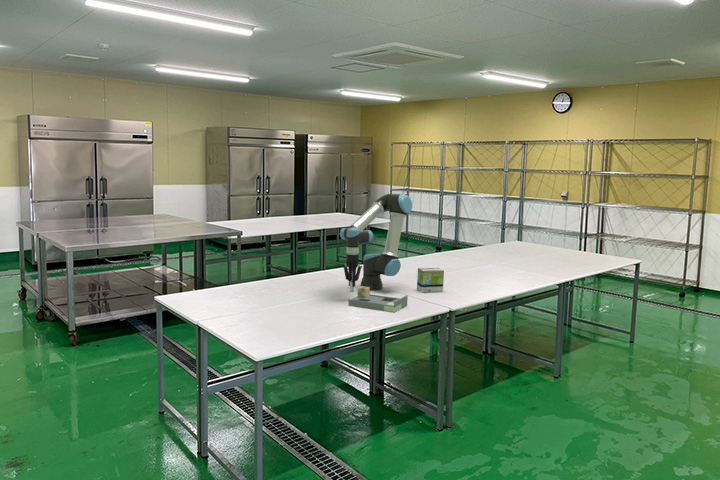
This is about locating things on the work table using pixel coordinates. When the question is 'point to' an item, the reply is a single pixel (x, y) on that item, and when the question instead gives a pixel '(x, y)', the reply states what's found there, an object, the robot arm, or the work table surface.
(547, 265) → the work table surface
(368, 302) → the board
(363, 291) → the block
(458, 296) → the work table surface
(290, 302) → the work table surface
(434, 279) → the tea box
